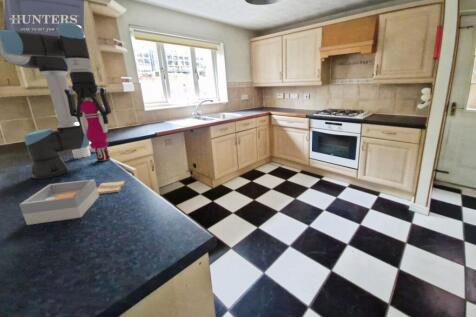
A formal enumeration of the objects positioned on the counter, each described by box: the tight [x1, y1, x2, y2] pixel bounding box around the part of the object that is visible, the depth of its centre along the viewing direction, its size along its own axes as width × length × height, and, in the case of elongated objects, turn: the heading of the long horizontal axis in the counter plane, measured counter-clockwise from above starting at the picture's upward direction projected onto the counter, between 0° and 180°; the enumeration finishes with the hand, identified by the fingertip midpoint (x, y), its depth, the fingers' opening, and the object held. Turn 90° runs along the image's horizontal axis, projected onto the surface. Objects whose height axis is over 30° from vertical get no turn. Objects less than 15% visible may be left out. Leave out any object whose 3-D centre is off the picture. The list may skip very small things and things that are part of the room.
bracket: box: [71, 141, 96, 159], centre depth 156 cm, size 25×10×12 cm, turn 2°
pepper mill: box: [81, 97, 109, 149], centre depth 88 cm, size 7×7×20 cm
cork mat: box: [97, 180, 126, 195], centre depth 97 cm, size 10×10×1 cm
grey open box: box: [18, 178, 100, 226], centre depth 80 cm, size 16×16×8 cm
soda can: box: [94, 146, 111, 162], centre depth 137 cm, size 7×7×12 cm
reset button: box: [54, 193, 77, 199], centre depth 80 cm, size 6×6×4 cm
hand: (96, 132), depth 89 cm, fingers closed on pepper mill, 6 cm apart
